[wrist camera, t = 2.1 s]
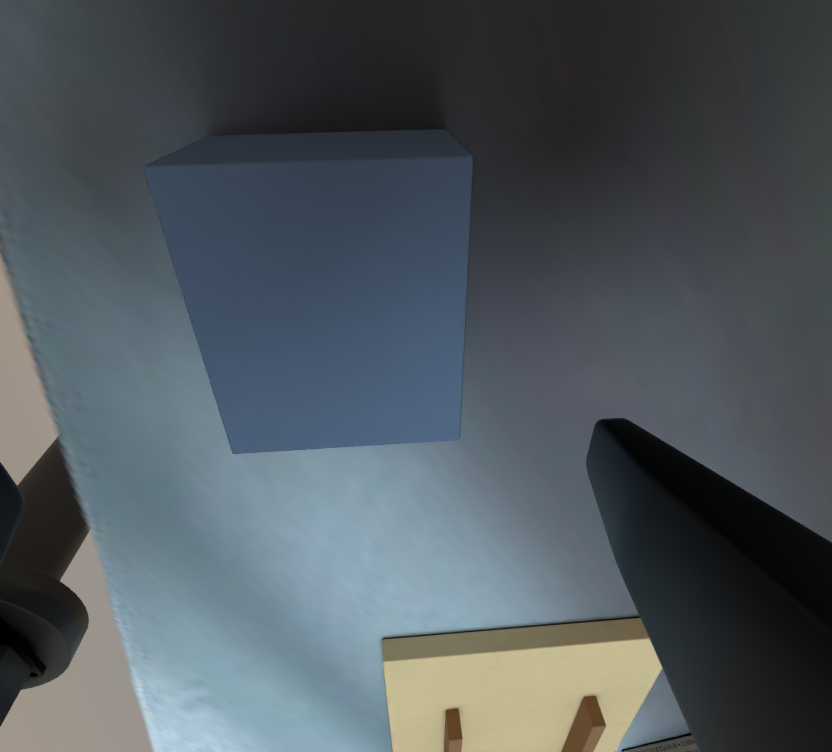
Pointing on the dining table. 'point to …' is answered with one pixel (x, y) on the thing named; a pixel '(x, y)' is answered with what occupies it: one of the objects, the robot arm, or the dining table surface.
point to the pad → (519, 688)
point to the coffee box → (670, 746)
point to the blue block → (324, 281)
